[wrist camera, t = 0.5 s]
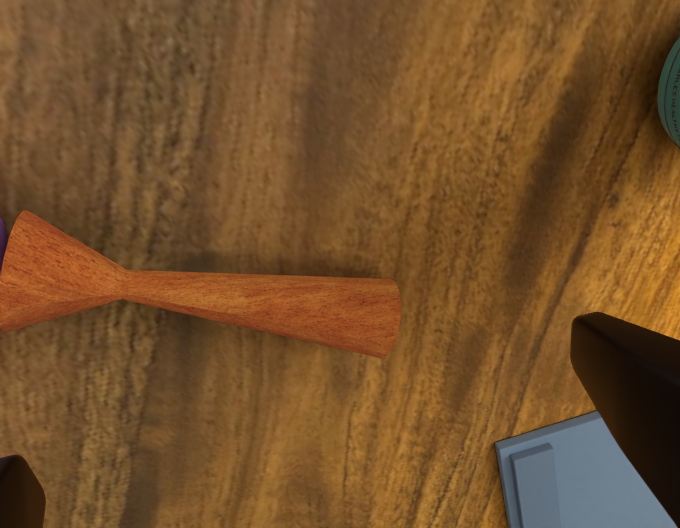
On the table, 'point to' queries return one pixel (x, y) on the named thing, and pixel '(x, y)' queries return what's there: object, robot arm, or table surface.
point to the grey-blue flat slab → (574, 480)
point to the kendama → (190, 292)
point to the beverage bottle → (670, 94)
